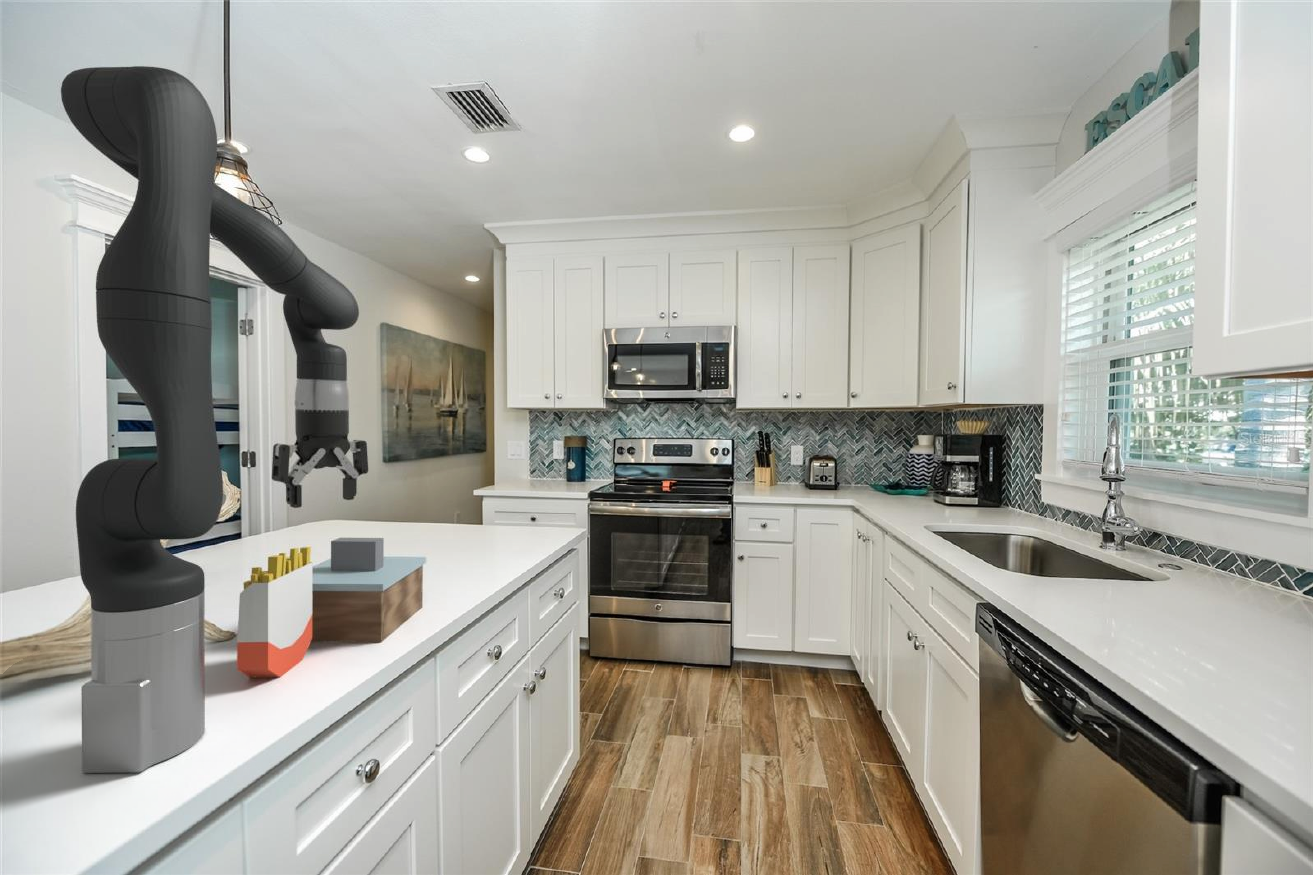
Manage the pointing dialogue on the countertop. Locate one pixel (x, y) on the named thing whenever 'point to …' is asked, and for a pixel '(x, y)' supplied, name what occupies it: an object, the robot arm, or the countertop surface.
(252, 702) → the countertop surface
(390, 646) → the countertop surface
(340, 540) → the lid
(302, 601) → the french fries container
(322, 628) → the wooden box
